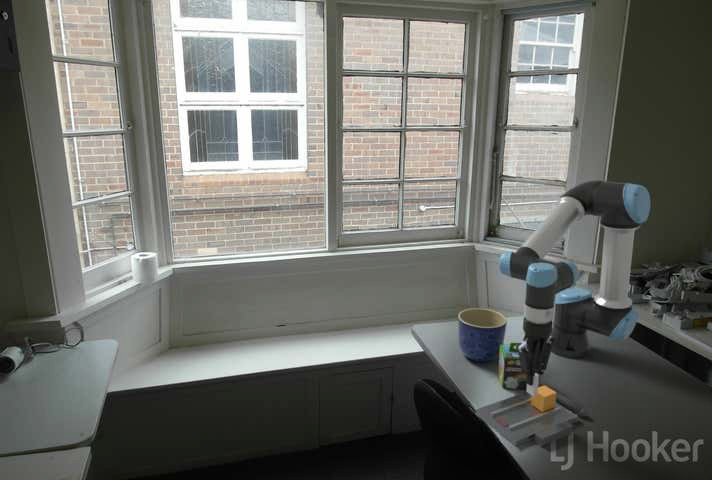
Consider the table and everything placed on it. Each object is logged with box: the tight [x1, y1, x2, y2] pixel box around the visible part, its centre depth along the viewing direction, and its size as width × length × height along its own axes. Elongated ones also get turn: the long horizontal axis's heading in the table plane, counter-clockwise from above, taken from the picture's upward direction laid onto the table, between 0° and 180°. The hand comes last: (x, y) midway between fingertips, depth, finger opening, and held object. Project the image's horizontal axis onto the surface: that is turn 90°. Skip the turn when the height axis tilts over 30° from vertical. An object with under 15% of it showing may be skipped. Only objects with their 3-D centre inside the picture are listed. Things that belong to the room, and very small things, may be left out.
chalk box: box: [497, 342, 527, 390], centre depth 157 cm, size 9×9×15 cm
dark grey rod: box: [547, 386, 588, 418], centre depth 146 cm, size 15×2×2 cm, turn 27°
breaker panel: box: [475, 391, 579, 447], centre depth 140 cm, size 16×24×2 cm, turn 117°
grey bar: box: [533, 421, 574, 447], centre depth 132 cm, size 2×12×2 cm, turn 117°
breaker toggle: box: [531, 385, 558, 412], centre depth 142 cm, size 4×5×5 cm
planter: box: [457, 307, 508, 363], centre depth 174 cm, size 17×17×15 cm
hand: (531, 393), depth 139 cm, fingers closed
